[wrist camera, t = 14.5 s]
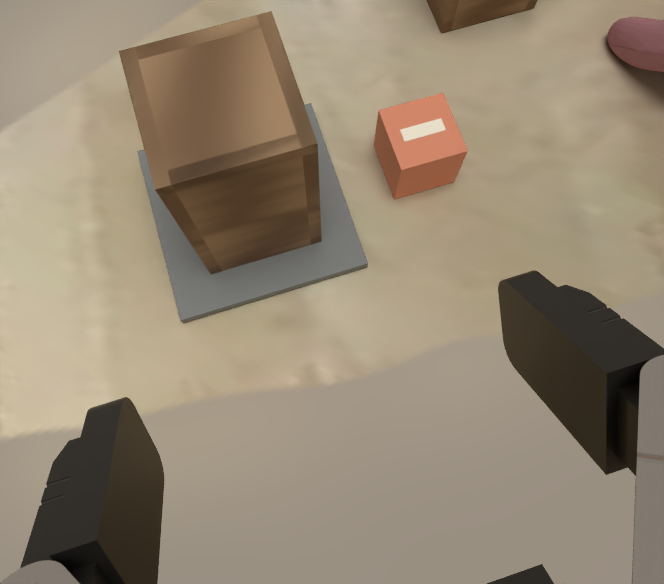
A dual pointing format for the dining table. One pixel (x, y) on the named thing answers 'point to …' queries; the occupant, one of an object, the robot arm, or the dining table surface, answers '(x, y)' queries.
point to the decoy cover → (473, 11)
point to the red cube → (419, 145)
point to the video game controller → (639, 42)
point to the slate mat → (266, 274)
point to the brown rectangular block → (228, 140)
